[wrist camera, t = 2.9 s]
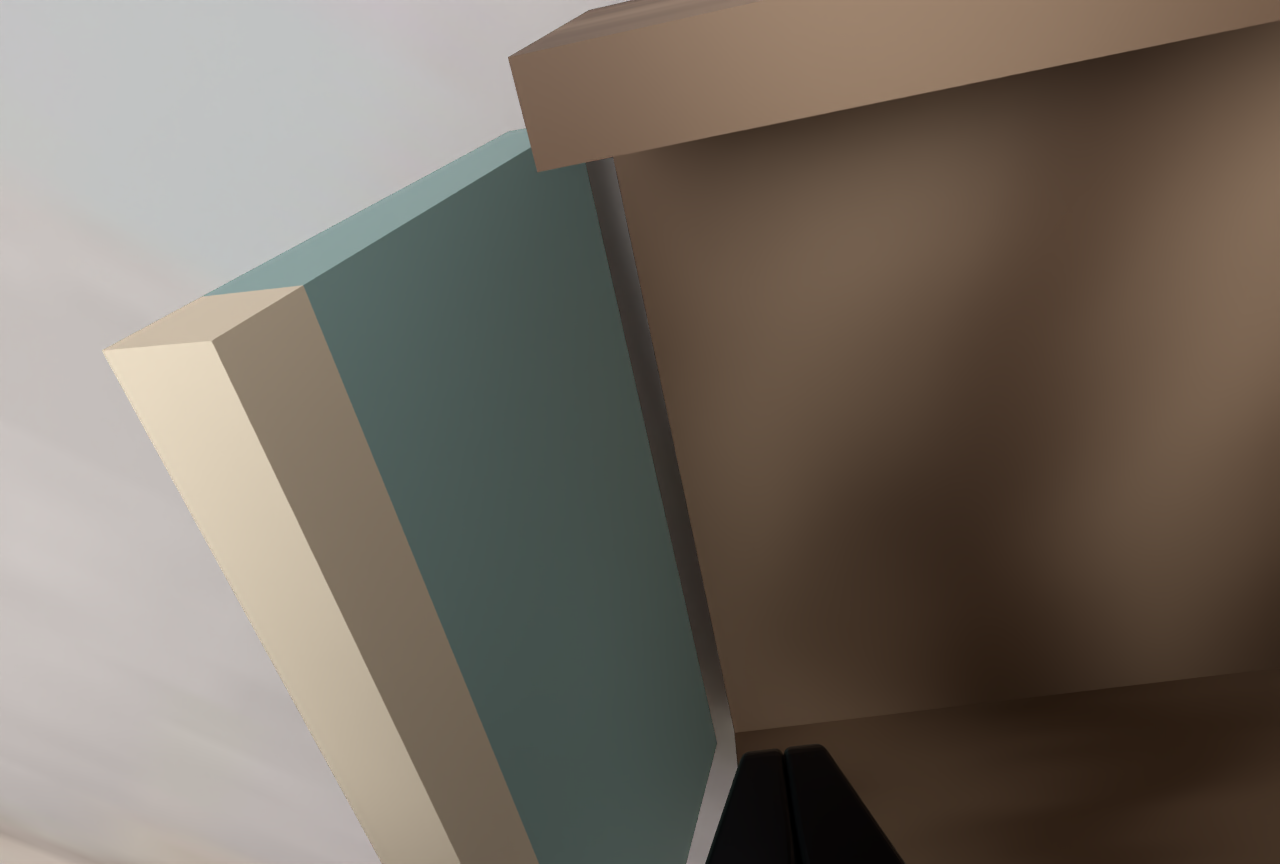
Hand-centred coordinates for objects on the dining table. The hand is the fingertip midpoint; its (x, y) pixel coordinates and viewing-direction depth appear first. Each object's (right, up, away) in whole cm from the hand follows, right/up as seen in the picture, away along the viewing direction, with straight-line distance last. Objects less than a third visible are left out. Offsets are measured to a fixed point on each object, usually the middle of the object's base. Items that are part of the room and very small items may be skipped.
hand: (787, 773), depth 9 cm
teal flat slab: (-2, +3, +6) cm, 6 cm away
